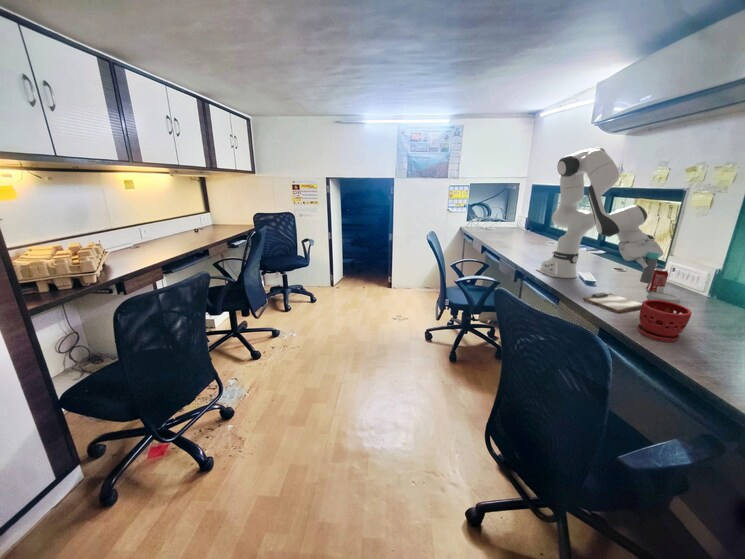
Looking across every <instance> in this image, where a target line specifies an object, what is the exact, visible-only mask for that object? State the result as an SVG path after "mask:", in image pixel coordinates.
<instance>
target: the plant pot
mask: <svg viewBox="0 0 745 559" xmlns="http://www.w3.org/2000/svg"><path fill="white" fill-rule="evenodd" d="M641 303H642V306H641V308H640V309H639V323H640V324H638V325H637V327H636V328H637V330H638V332H639V333H640V334H642V336H645V337H647V338H650V339H652V340H656V341H661V342H667V343H668V342H675V341H678V340H679V339H680V335H679V334H681V333H682V332H683V331H684V329H685V328H686V327H687V326H688V323H689V321H690V319H691V317H692V311H691V310H690V308H688V307H686V306H684V305H680V304H679V303H678V304H675V303H671V302H667V301H661V300H647V299H646V300H644V301H643V302H641ZM654 306H656V308H655V309H654V308H653V307H654ZM665 309H669V310H670V311H669V312H666V311H665Z"/></svg>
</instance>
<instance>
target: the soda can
mask: <svg viewBox="0 0 745 559" xmlns="http://www.w3.org/2000/svg"><path fill="white" fill-rule="evenodd" d="M668 277H669V272H668V269H667V268H661V267H655V271H654V274H653V277H652V281H651V283H646V284H647V285H646V287H645V289H646V291H647V292H649V291H650V292H660V293H664V290H665V288H666V287H665V286H666V284H667V280H668ZM650 292H649V293H650Z"/></svg>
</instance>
